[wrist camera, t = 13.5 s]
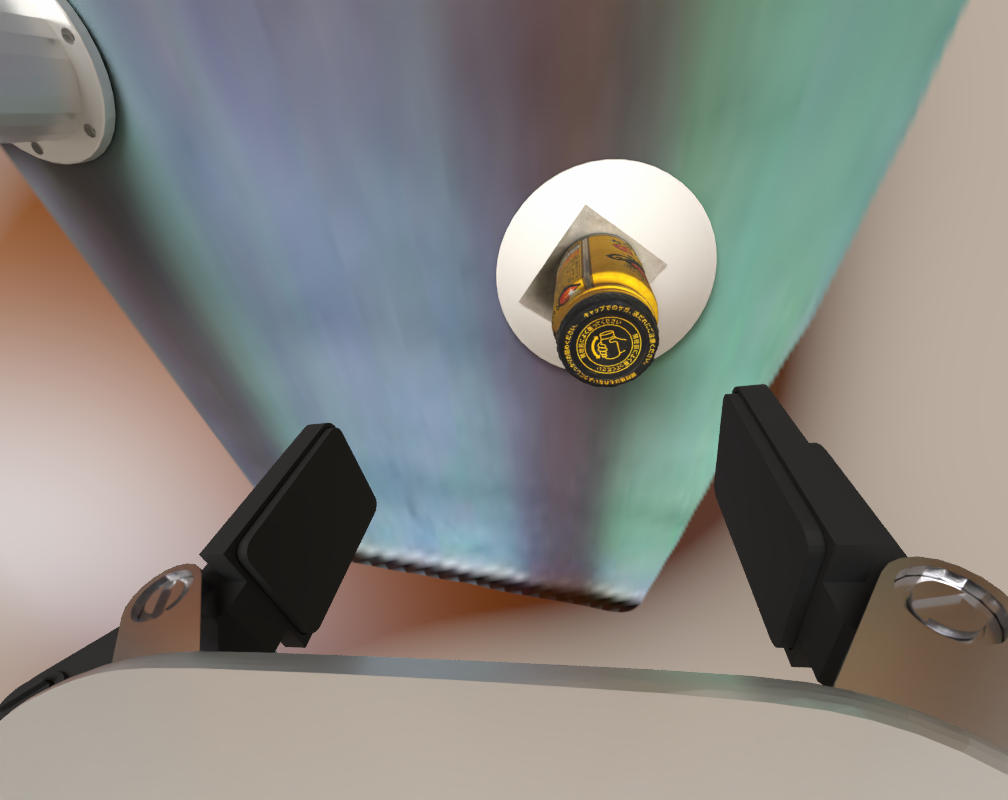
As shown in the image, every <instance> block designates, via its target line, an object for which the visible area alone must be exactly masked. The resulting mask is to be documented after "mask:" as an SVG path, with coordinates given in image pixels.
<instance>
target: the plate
mask: <svg viewBox="0 0 1008 800" xmlns="http://www.w3.org/2000/svg"><path fill="white" fill-rule="evenodd" d="M585 204H586V205H588V206H589V207H590V208H592V209H593V210H594V211H596V212H597V213H598V214H600V215H601V216H602V217H604V218H605V219H607V220H608V221H609V222H611V223H612V224H614V225H615V226H616V227H618V228H619V229H620V230H622V231H623V232H624V233H626V234H627V235H629V236H630V237H631V238H633V239H634V240H635V241H637V242H638V243H639V244H641V245H642V246H643V247H645V248H646V249H647V250H649V251H650V252H651V253H653V254H654V255H655V256H657V257H658V258H659V259H661V260H662V261H663V262H665V263H666V264H667V265H666V266H665V267H664V268H663V269H662V270H661V271H660V272H659V274H658V275H657V276H656V277H655V278H654V280H653V281H652V282H651V283H650V287H651V288H652V291H653V293H654V296H655V298H656V301H657V304H658V330H659V346H658V349H657V351H656V354H655V357H654V359H655V358H657V357H659V356H660V355H662V354H663V353H665V352H666V351H668V350H669V349H670V348H672V347H673V346H674V345H675V344H676V343H678V342H679V341H680V340H681V339H682V338H683V337H684V336H685V335H686V334H687V332H688V331H689V330H690V329H691V328H692V326H693V325H694V324H695V322H696V321H697V320H698V318H699V316H700V315H701V313H702V311H703V309H704V308H705V306H706V303H707V301H708V299H709V296H710V294H711V291H712V287H713V283H714V280H715V273H716V265H717V254H716V243H715V237H714V233H713V230H712V227H711V223H710V220H709V218H708V216H707V214H706V212H705V210H704V209H703V207H702V205H701V204H700V203H699V201H698V200H697V198H696V197H695V196H694V194H693V193H692V192H691V191H690V190H689V189H688V188H687V187H686V186H685V185H684V184H683V183H681V182H680V181H678V180H677V179H675V178H674V177H673V176H671V175H670V174H668V173H667V172H665V171H663V170H661V169H659V168H657V167H654V166H652V165H649V164H646V163H642V162H639V161H633V160H626V159H603V160H596V161H590V162H587V163H583V164H580V165H577V166H574V167H572V168H569V169H567V170H565V171H563V172H561V173H559V174H557V175H556V176H554V177H552V178H551V179H549V180H548V181H546V182H545V183H544V184H543V185H541V186H540V187H539V188H538V189H537V190H535V191H534V192H533V193H532V194H531V196H530V197H529V198H528V199H527V200H526V201H525V202H524V203H523V205H522V206H521V207H520V209H519V210H518V212H517V213H516V214H515V216H514V217H513V219H512V221H511V223H510V225H509V227H508V229H507V230H506V233H505V236H504V238H503V241H502V244H501V247H500V251H499V256H498V262H497V271H496V274H497V290H498V296H499V300H500V304H501V307H502V310H503V313H504V315H505V317H506V319H507V322H508V323H509V325H510V327H511V328H512V330H513V332H514V333H515V334H516V335H517V337H518V338H519V339H520V340H521V342H522V343H523V344H524V345H526V346H527V347H528V348H529V349H530V350H531V351H532V352H534V353H535V354H536V355H538V356H539V357H540V358H542V359H544V360H546V361H547V362H549V363H551V364H554V365H556V366H558V367H560V368H564V369H565V367H564V366H563V364H562V361H561V360H560V359H559V357H558V352H557V348H556V347H557V344H556V340H555V338H554V335H553V331H552V323H551V322H550V321H548V320H547V319H545V318H543V317H542V316H540V315H539V314H537V313H536V312H534V311H532V310H531V309H530V308H528V307H526V306H524V305H523V304H521V303H519V300H520V299H521V297H522V296H523V295H524V293H525V292H526V290H527V289H528V287H529V286H530V284H531V283H532V281H533V280H534V278H535V277H536V275H537V274H538V272H539V271H540V270H541V268H542V267H543V265H544V264H545V262H546V261H547V259H548V258H549V256H550V255H551V253H552V252H553V250H554V249H555V248H556V246H557V245H558V243H559V242H560V240H561V239H562V237H563V236H564V234H565V233H566V232H567V230H568V229H569V227H570V226H571V224H572V223H573V221H574V220H575V218H576V217H577V216H578V214H579V213H580V211H581V210H582V208H583V207H584V205H585Z"/></svg>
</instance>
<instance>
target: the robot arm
mask: <svg viewBox="0 0 1008 800" xmlns="http://www.w3.org/2000/svg"><path fill="white" fill-rule="evenodd" d="M114 129H115V105H114V97H113V92H112V88H111V84H110V81H109V77H108V73H107V71H106V68H105V66H104V64H103V61H102V59H101V56H100V54H99V51H98V49H97V48H96V46H95V44H94V42H93V40H92V38H91V36H90V34H89V33H88V31H87V29H86V27H85V26H84V24H83V23H82V21H81V20H80V18H79V17H78V15H77V14H76V12H75V11H74V9H73V8H72V6H71V5H70V4H69V3H68V2H67V0H0V144H1V143H12V144H14V145H15V146H17V147H18V148H20V149H21V150H23V151H25V152H27V153H29V154H31V155H33V156H35V157H37V158H39V159H43V160H46V161H49V162H52V163H59V164H78V163H85V162H88V161H92V160H95V159H96V158H97V157H99V156H100V155H101V154H103V153H104V152H105V150H106V149H107V147H108V146H109V144H110V143H111V139H112V136H113V133H114ZM714 489H715V494H716V498H717V501H718V503H719V506H720V509H721V512H722V514H723V517H724V519H725V522H726V525H727V527H728V530H729V532H730V535H731V538H732V540H733V543H734V545H735V548H736V551H737V553H738V556H739V559H740V561H741V564H742V566H743V569H744V572H745V574H746V577H747V579H748V582H749V585H750V587H751V590H752V592H753V595H754V597H755V600H756V603H757V606H758V608H759V611H760V613H761V616H762V619H763V621H764V624H765V626H766V629H767V632H768V634H769V637H770V639H771V641H772V643H773V644H774V646H775V647H777V648H784V649H785V652H786V654H787V657H788V659H789V662H790V664H791V666H792V667H809V668H812V670H813V671H814V674H815V677H816V679H817V681H818V682H820V683H821V684H822V685H819V684H813V683H808V682H799V681H791V680H782V679H772V678H763V677H755V676H743V675H727V674H712V673H696V672H682V671H667V670H651V669H631V668H610V667H589V666H568V665H548V664H528V663H507V662H506V663H505V662H484V661H461V660H439V659H415V658H391V657H390V658H389V657H368V656H342V655H315V654H287V653H286V654H285V653H277V652H276V649H277V647H278V645H279V643H280V642H281V643H282V644H283V645H284V646H285V647H303V648H305V647H306V646H307V644H308V642H309V639H310V637H311V635H312V633H314V632H316V631H317V630H318V629H319V627H320V625H321V623H322V621H323V619H324V617H325V615H326V613H327V611H328V609H329V607H330V605H331V603H332V601H333V598H334V597H335V594H336V592H337V590H338V588H339V586H340V584H341V582H342V580H343V578H344V576H345V574H346V572H347V570H348V567H349V565H350V563H351V561H352V559H353V557H354V555H355V553H356V551H357V549H358V547H359V545H360V543H361V540H362V538H363V536H364V534H365V532H366V530H367V528H368V526H369V524H370V522H371V520H372V518H373V516H374V513H375V511H376V507H377V502H376V498H375V496H374V494H373V492H372V490H371V488H370V486H369V484H368V482H367V480H366V478H365V476H364V474H363V472H362V470H361V469H360V467H359V465H358V463H357V461H356V459H355V457H354V455H353V453H352V451H351V449H350V447H349V445H348V443H347V441H346V439H345V437H344V435H343V433H342V432H341V430H340V429H339V428H336V427H335V426H334V425H333V424H331V423H322V424H311V425H307V426H306V427H305V428H304V429H303V430H302V432H301V433H300V434H299V435H298V436H297V438H296V439H295V440H294V441H293V442H292V444H291V445H290V446H289V447H288V448H287V450H286V451H285V452H284V453H283V454H282V456H281V457H280V458H279V459H278V460H277V462H276V463H275V464H274V465H273V466H272V468H271V469H270V470H269V471H268V472H267V474H266V475H265V476H264V477H263V478H262V480H261V481H260V482H259V483H258V484H257V486H256V487H255V488H254V489H253V491H252V492H251V493H250V494H249V495H248V497H247V498H246V499H245V500H244V501H243V502H242V504H241V505H240V506H239V507H238V509H237V510H236V511H235V512H234V513H233V515H232V516H231V517H230V518H229V519H228V521H227V522H226V523H225V524H224V525H223V527H222V528H221V529H220V530H219V531H218V533H217V534H216V535H215V536H214V537H213V539H212V540H211V541H210V542H209V543H208V545H207V546H206V547H205V548H204V549H203V551H202V552H201V553H200V554H199V555H200V556H201V557H202V558H203V559H204V560H205V561H206V562H207V563H208V564H207V565H206V566H205V568H204V569H203V570H201V569H200V568H199V567H198V566H197V565H195V564H183V565H178V566H175V567H173V568H171V569H168V570H166V571H164V572H163V573H161V574H159V575H158V576H156V577H154V578H153V579H152V580H151V581H149V582H148V583H147V584H145V585H144V586H143V587H142V588H141V589H140V590H139V591H138V592H137V593H136V594H135V595H134V596H133V597H132V599H131V600H130V601H129V603H128V604H127V606H126V607H125V610H124V612H123V615H122V617H121V622H120V627H118V628H116V629H114V630H113V631H111V632H110V633H108V634H106V635H104V636H103V637H101V638H99V639H98V640H96V641H94V642H93V643H91V644H89V645H87V646H86V647H84V648H83V649H81V650H79V651H77V652H76V653H74V654H72V655H71V656H69V657H67V658H66V659H64V660H62V661H60V662H59V663H57V664H55V665H54V666H52V667H50V668H49V669H47V670H45V671H44V672H42V673H40V674H39V675H37V676H36V677H34V678H33V679H31V680H30V681H28V682H26V683H25V684H23V685H21V686H20V687H18V688H17V689H15V691H13V692H12V693H11V694H10V695H9V696H7V697H6V698H5V699H4V701H3V702H2V703H1V704H0V800H1008V596H1007V595H1006V594H1005V593H1003V592H1002V591H1001V590H1000V589H998V588H997V587H995V586H994V585H993V584H991V583H990V582H988V581H987V580H985V579H984V578H982V577H981V576H979V575H976V574H974V573H972V572H970V571H968V570H966V569H964V568H962V567H960V566H957V565H954V564H951V563H948V562H945V561H942V560H939V559H932V558H925V557H907V556H906V554H905V553H904V552H903V550H902V549H901V548H900V546H899V545H898V544H897V543H896V541H895V540H894V539H893V537H892V536H891V535H890V533H889V532H888V531H887V529H886V528H885V527H884V525H883V524H882V523H881V522H880V520H879V519H878V518H877V516H876V515H875V514H874V512H873V511H872V510H871V508H870V507H869V506H868V505H867V503H866V502H865V501H864V499H863V498H862V497H861V495H860V494H859V493H858V491H857V490H856V489H855V487H854V486H853V485H852V483H851V482H850V481H849V480H848V478H847V477H846V476H845V474H844V473H843V472H842V470H841V469H840V468H839V466H838V465H837V464H836V462H834V460H833V458H832V457H831V456H830V455H829V454H828V452H827V451H826V450H825V449H824V448H823V447H822V446H821V445H820V444H817V443H808V441H807V440H806V438H805V437H804V436H803V434H802V433H801V432H800V430H799V429H798V427H797V426H796V425H795V423H794V422H793V421H792V419H791V418H790V416H789V415H788V414H787V412H786V411H785V410H784V408H783V407H782V405H781V404H780V403H779V401H778V400H777V399H776V397H775V396H774V394H773V393H772V392H771V390H770V389H769V387H768V386H766V385H764V384H761V385H749V386H738V387H735V388H734V389H733V392H732V394H726V395H725V396H724V398H723V406H722V415H721V425H720V434H719V443H718V453H717V462H716V471H715V481H714Z"/></svg>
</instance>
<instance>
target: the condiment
mask: <svg viewBox="0 0 1008 800" xmlns="http://www.w3.org/2000/svg"><path fill="white" fill-rule="evenodd" d="M666 265H667V264H666V263H665V262H663V261H662V260H661V259H659V258H658V257H657V256H655V255H654V254H653V253H651V252H650V251H649V250H647V249H646V248H645V247H643V246H642V245H641V244H639V243H638V242H637V241H635V240H634V239H633V238H631V237H630V236H629V235H627V234H626V233H624V232H623V231H622V230H620V229H619V228H618V227H616V226H615V225H614V224H612V223H611V222H609V221H608V220H607V219H605V218H604V217H602V216H601V215H600V214H598V213H597V212H596V211H594V210H593V209H592V208H590V207H589V206H588V205H586V204H585V205H584V207H583V208H582V210H581V211H580V213H579V214H578V216H577V217H576V218H575V220H574V221H573V223H572V224H571V226H570V227H569V229H568V230H567V232H566V233H565V234H564V236H563V237H562V239H561V240H560V242H559V243H558V245H557V246H556V248H555V249H554V250H553V252H552V253H551V255H550V256H549V258H548V259H547V261H546V262H545V264H544V265H543V267H542V268H541V270H540V271H539V272H538V274H537V275H536V277H535V278H534V280H533V281H532V283H531V284H530V286H529V287H528V289H527V290H526V292H525V293H524V295H523V296H522V297H521V299H520V300H519V303H521V304H523V305H524V306H526V307H528V308H530V309H531V310H532V311H534V312H536V313H537V314H539V315H540V316H542V317H543V318H545V319H547V320H548V321H550V322H551V323H552V331H553V335H554V338H555V340H556V344H557V347H556V348H557V352H558V357H559V359H560V360H561V361H562V364H563V366H564V367H565V369H566V370H567V371H568V372H569V373H570V374H571V375H572V376H574V377H575V378H577V379H578V380H580V381H581V382H584V383H586V384H589V385H592V386H596V387H614V386H618V385H620V384H623V383H626V382H629V381H632V380H634V379H635V378H637V377H638V376H640V375H641V374H642V373H643V372H644V371H645V370H646V369H647V368H648V366H649V365H650V364H651V363H652V362H653V360H654V357H655V354H656V351H657V349H658V346H659V330H658V304H657V301H656V298H655V296H654V293H653V291H652V288H651V287H650V283H651V282H652V281H653V280H654V278H655V277H656V276H657V275H658V274H659V272H660V271H661V270H662V269H663V268H664V267H665V266H666Z"/></svg>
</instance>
